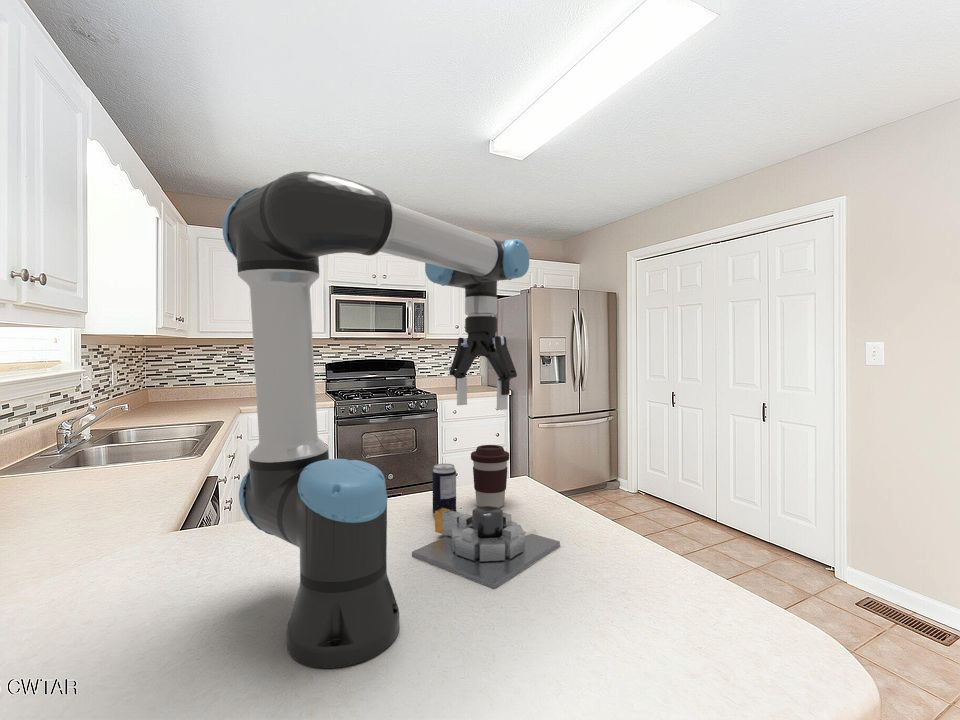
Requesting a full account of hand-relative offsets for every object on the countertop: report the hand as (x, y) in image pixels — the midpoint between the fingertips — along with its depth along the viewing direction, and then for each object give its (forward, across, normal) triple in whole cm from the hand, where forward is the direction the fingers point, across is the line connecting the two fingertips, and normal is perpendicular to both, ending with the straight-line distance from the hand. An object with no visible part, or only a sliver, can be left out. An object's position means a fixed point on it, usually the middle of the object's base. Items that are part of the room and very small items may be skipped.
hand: (481, 407), depth 111 cm
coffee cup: (+27, +6, -9) cm, 29 cm away
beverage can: (+27, +9, +4) cm, 28 cm away
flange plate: (+27, -12, +11) cm, 31 cm away
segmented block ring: (+25, -10, +12) cm, 30 cm away
